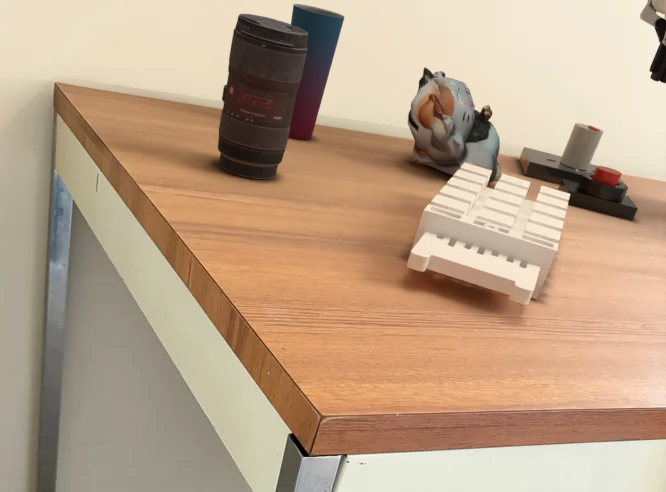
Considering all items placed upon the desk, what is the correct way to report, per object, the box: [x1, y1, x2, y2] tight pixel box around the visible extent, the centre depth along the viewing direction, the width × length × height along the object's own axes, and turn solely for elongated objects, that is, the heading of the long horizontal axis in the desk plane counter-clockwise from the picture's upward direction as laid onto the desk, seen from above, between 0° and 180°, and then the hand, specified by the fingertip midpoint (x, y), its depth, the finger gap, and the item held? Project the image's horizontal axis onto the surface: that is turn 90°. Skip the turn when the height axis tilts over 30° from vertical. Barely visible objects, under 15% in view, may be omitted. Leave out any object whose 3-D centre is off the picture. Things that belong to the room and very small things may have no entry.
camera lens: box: [217, 13, 308, 180], centre depth 91 cm, size 8×8×15 cm
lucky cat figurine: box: [407, 67, 502, 186], centre depth 113 cm, size 15×12×14 cm
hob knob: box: [560, 122, 604, 170], centre depth 126 cm, size 4×4×6 cm
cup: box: [288, 3, 345, 141], centre depth 111 cm, size 7×7×15 cm
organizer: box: [406, 162, 570, 306], centre depth 87 cm, size 13×5×35 cm
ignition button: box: [592, 165, 623, 185], centre depth 116 cm, size 4×4×2 cm
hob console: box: [519, 146, 625, 185], centre depth 129 cm, size 15×11×2 cm
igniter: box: [557, 172, 639, 222], centre depth 117 cm, size 10×7×4 cm
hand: (658, 80), depth 110 cm, fingers closed
